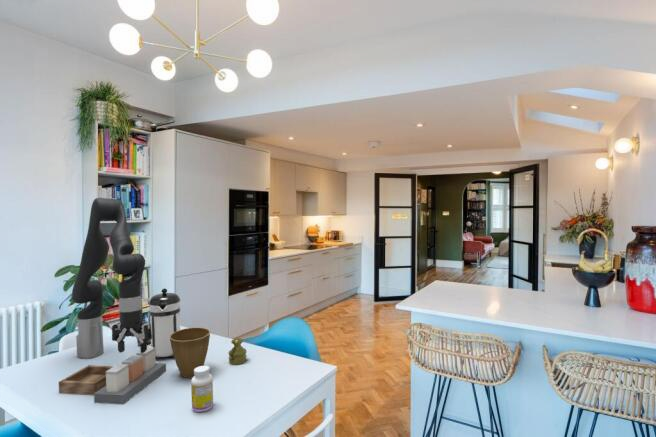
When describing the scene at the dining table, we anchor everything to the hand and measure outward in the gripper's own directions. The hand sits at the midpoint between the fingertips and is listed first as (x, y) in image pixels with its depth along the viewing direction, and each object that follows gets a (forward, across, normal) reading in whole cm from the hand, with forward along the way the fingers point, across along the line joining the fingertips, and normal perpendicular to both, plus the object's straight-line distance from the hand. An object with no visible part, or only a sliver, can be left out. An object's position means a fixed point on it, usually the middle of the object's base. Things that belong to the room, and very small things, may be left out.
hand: (132, 352), depth 136 cm
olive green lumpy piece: (+13, -31, -24) cm, 41 cm away
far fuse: (+12, 0, -8) cm, 15 cm away
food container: (+12, +20, -41) cm, 47 cm away
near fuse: (+12, 0, +8) cm, 15 cm away
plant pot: (+13, -17, -11) cm, 24 cm away
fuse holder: (+12, 0, 0) cm, 12 cm away
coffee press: (+12, +4, -28) cm, 31 cm away
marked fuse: (+12, 0, 0) cm, 12 cm away
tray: (+12, +16, +1) cm, 20 cm away
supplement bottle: (+13, -33, +12) cm, 37 cm away
